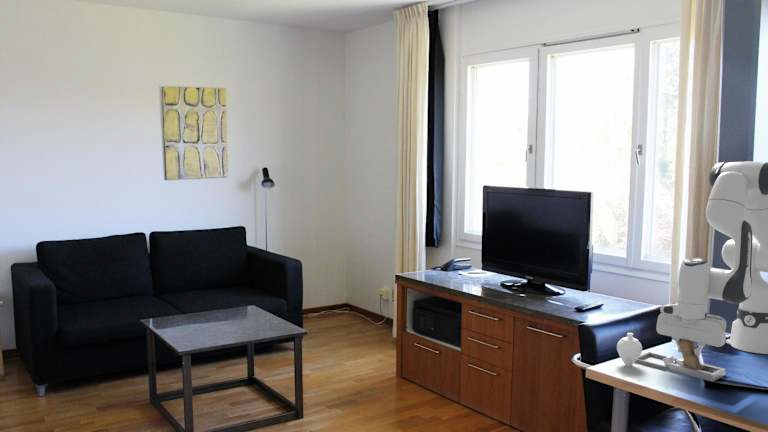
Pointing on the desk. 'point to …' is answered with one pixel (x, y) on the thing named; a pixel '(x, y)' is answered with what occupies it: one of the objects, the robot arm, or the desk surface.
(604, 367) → the desk surface
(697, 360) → the tan long rectangular block
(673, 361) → the shiny gray ball
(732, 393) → the desk surface
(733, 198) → the robot arm
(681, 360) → the silver metal ball
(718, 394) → the desk surface
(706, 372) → the slot block
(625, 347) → the white vase
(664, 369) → the tray
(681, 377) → the desk surface
